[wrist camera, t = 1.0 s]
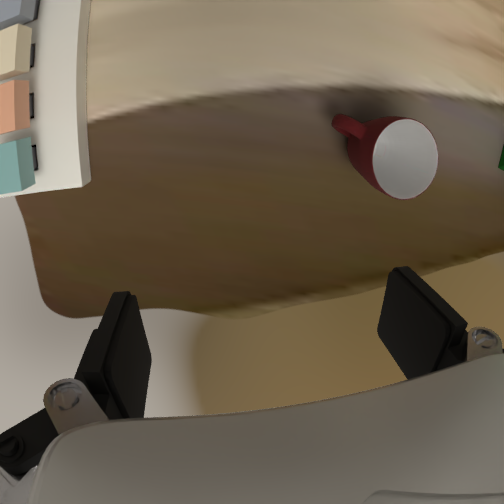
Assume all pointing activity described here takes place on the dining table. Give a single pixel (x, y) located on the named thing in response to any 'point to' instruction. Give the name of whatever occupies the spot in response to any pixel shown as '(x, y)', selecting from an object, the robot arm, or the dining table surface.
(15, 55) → the key
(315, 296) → the dining table surface
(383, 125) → the mug
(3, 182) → the key
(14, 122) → the key
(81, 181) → the keypad base
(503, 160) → the milk carton
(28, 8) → the key
